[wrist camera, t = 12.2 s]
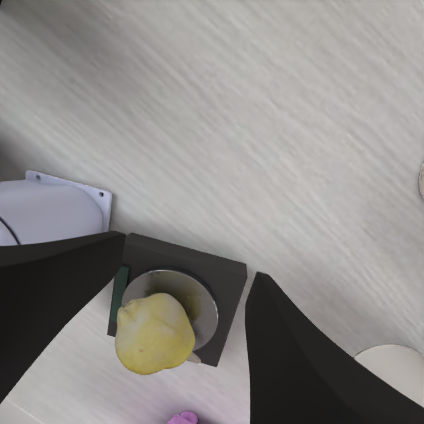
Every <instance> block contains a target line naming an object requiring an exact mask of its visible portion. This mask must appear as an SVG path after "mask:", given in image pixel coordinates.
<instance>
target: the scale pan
mask: <svg viewBox="0 0 424 424" xmlns="http://www.w3.org/2000/svg"><path fill="white" fill-rule="evenodd" d="M157 293H167V294H169V295H171V296H172V297H174V298H175V299H176V300H177V301H178V302H179V303H180V304H181V305H182V307H183V308H184V310H185V312H186V315H187V317H188V319H189V322H190V324H191V327H192V329H193V332H194V336H195V345H194V348H193V350H192V351H195V350H197V349H199V348H201V347H202V346H204V345H205V344H206V343H207V342H208V341H209V340H210V339H211V338H212V336H213V335H214V333H215V331H216V328H217V324H218V314H219V311H218V304H217V301H216V298H215V296H214V294H213V292H212V290H211V289H210V288H209V286H208V285H207V284H206V283H205V282H204V281H203V280H202V279H200V278H199V277H198V276H196V275H195V274H193V273H191V272H189V271H187V270H184V269H181V268H177V267H171V266H160V267H154V268H151V269H148V270H145V271H143V272H142V273H140V274H139V275H137V276H136V277H135V278H134V279H133V280H132V282H131V283H130V284H129V285H128V286H127V288H126V290H125V292H124V294H123V298H122V305H121V307H122V306H124V305H126V304H127V303H128V302H129V301H130V300H132V299H133V300H134V299H140V298H146V297H149V296H151V295H153V294H157Z"/></svg>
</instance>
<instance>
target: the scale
mask: <svg viewBox="0 0 424 424" xmlns="http://www.w3.org/2000/svg"><path fill="white" fill-rule="evenodd" d="M160 266H171V267H177V268H181V269H184V270H187V271H189V272H191V273H193V274H195V275H196V276H198V277H199V278H200V279H202V280H203V281H204V282H205V283H206V284H207V285H208V286H209V288H210V289H211V290H212V292H213V294H214V296H215V298H216V301H217V304H218V311H219V314H218V324H217V328H216V331H215V333H214V335H213V336H212V338H211V339H210V340H209V341H208V342H207V343H206V344H205V345H204V346H202V347H201V348H199V349H197V350H195V351H192V352H193V353H194V354H195V355H197V356H198V357H199V358H200V359H201V362H200V363H204V364H207V365H211V366H214V367H217V365H218V362H219V359H220V356H221V353H222V351H223V348H224V345H225V342H226V339H227V336H228V333H229V330H230V327H231V324H232V321H233V318H234V315H235V312H236V309H237V306H238V303H239V301H240V298H241V295H242V292H243V289H244V286H245V283H246V280H247V269H246V264H244V263H240V262H237V261H233V260H229V259H226V258H222V257H219V256H215V255H211V254H208V253H204V252H200V251H197V250H193V249H190V248H186V247H182V246H179V245H175V244H171V243H168V242H164V241H161V240H157V239H153V238H150V237H146V236H142V235H139V234H135V233H130V234H129V235H128V236H126V237H125V245H124V252H123V259H122V267H121V268H120V270H119V271H118V272H117V273H116V275H115V279H114V287H113V294H112V302H111V310H110V317H109V325H108V333H107V335H109V336H113V337H115V336H116V332H117V327H118V326H117V315H118V310H119V308H120V307H121V305H122V298H123V294H124V292H125V290H126V288H127V286H128V285H129V284H130V283H131V282H132V280H133V279H134V278H135V277H136V276H137V275H139V274H140V273H142V272H143V271H145V270H148V269H151V268H154V267H160Z"/></svg>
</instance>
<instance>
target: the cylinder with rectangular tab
mask: <svg viewBox="0 0 424 424" xmlns="http://www.w3.org/2000/svg"><path fill="white" fill-rule="evenodd" d="M354 359H355V360H356V361H357V362H359V363H360V364H361V365H363V366H364V367H365V368H367V369H368V370H369V371H371V372H372V373H373V374H375V375H376V376H378V377H379V378H380V379H382V380H383V381H385V382H386V383H388V384H389V385H390V386H392V387H393V388H395V389H396V390H397V391H399V392H400V393H402V394H403V395H405V396H407V397H408V398H410V399H411V400H413V401H414V402H416V403H417V404H419V405H421V406H422V407H424V357H423V355H422V354H420V353H418V352H417V351H415V350H414V349H411V348H408V347H405V346H402V345H393V344H389V345H379V346H375V347H372V348H368V349H367V350H365V351H363V352H361V353H359V354H358V355H357V356H356V357H354Z"/></svg>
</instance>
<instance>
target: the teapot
mask: <svg viewBox="0 0 424 424" xmlns="http://www.w3.org/2000/svg"><path fill="white" fill-rule="evenodd" d="M197 421H198V418H197V416H196V415H195V414H194V413H192V412H189V411H185V412H183V413H181V415H180V416H179V415H177V414H175V415H174V417H173V418H172V419H171V420H170V421H169V422H168V423H167V424H197Z"/></svg>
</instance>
